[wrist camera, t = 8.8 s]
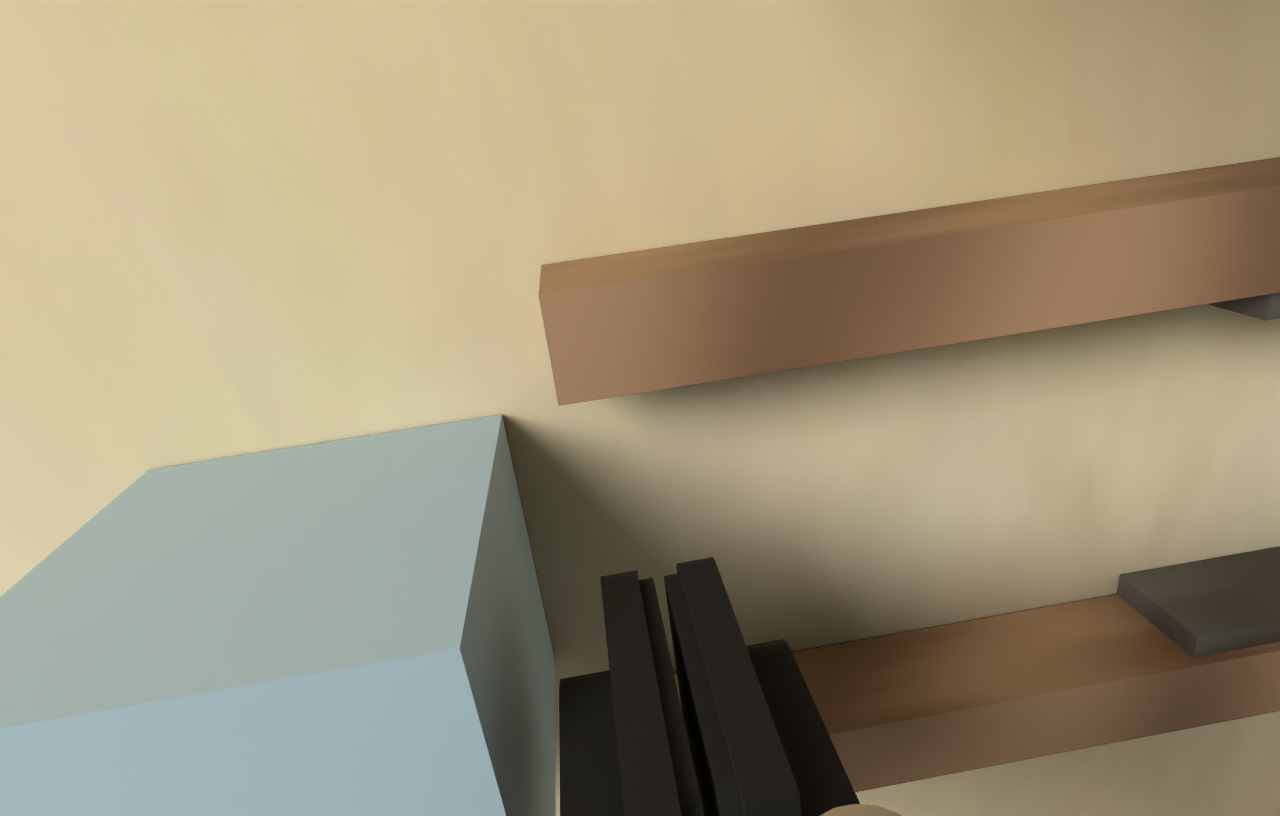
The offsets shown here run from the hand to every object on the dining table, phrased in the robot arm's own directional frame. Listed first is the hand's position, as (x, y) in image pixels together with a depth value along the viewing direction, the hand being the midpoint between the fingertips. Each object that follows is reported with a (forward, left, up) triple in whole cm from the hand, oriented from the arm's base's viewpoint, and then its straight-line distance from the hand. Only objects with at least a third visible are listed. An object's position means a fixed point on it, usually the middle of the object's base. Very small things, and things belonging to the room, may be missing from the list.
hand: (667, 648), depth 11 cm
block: (+5, 0, -3) cm, 6 cm away
